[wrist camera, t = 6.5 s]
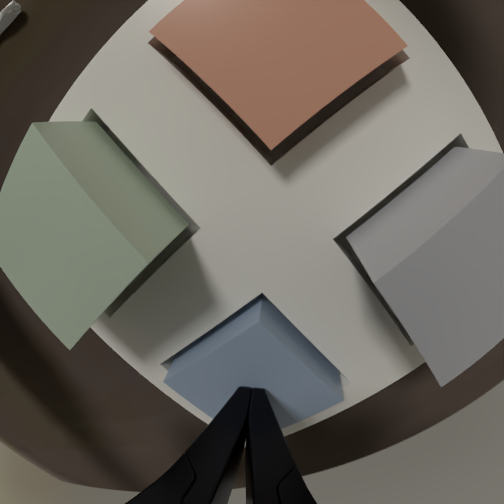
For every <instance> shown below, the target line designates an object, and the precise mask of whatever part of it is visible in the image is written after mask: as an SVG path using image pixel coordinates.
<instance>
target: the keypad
mask: <svg viewBox="0 0 504 504" xmlns="http://www.w3.org/2000/svg"><path fill="white" fill-rule="evenodd" d="M183 1H184V0H148V1H147V2H146V3H145V4H144V5H143V6H142V7H141V8H140V9H139V10H138V11H136V12H135V13H134V14H133V15H132V16H131V17H130V18H129V19H128V20H127V21H126V22H125V23H124V24H123V25H122V26H121V27H120V29H119V30H118V31H117V32H116V33H115V34H114V35H113V36H112V37H111V38H110V39H109V40H108V42H107V43H106V44H105V45H104V46H103V47H102V48H101V50H100V51H99V52H98V53H97V54H96V56H95V57H94V58H93V59H92V60H91V62H90V63H89V64H88V65H87V67H86V68H85V69H84V71H83V72H82V73H81V74H80V76H79V77H78V78H77V80H76V81H75V83H74V84H73V85H72V87H71V88H70V90H69V91H68V92H67V94H66V95H65V97H64V98H63V100H62V101H61V103H60V104H59V106H58V107H57V109H56V110H55V112H54V114H53V115H52V117H51V118H50V120H49V122H63V121H89V122H97V123H98V124H99V125H100V126H101V127H102V129H103V130H104V131H105V132H106V133H107V134H108V135H109V137H110V138H111V139H112V140H113V141H114V142H115V143H116V145H117V146H118V147H119V148H120V149H121V150H122V151H123V152H124V154H125V155H126V156H127V157H128V158H129V159H130V160H131V161H132V162H133V164H134V165H135V166H136V167H137V168H138V169H139V170H140V171H141V172H142V174H143V175H144V176H145V177H146V178H147V179H148V180H149V181H150V182H151V183H152V185H153V186H154V187H155V188H156V189H157V190H158V191H159V192H160V193H161V194H162V195H163V197H164V198H165V199H166V200H167V201H168V202H169V203H170V204H171V205H172V206H173V207H174V208H175V210H176V211H177V212H178V213H179V214H180V215H181V216H182V217H183V218H184V219H185V220H186V221H187V222H188V223H189V225H188V226H187V227H186V228H185V229H184V230H183V231H182V232H181V233H180V234H179V235H178V236H177V237H176V238H175V239H174V240H173V241H172V242H171V243H170V244H169V245H168V246H167V247H166V248H165V249H164V250H163V251H162V252H161V253H160V254H159V255H158V256H157V257H156V258H155V259H154V260H153V261H152V262H151V263H150V264H149V265H148V266H147V267H146V268H145V269H144V270H143V271H142V272H141V273H140V274H139V275H138V276H137V277H136V278H135V279H134V280H133V281H132V282H131V284H130V285H129V286H128V287H127V288H126V289H125V290H124V291H123V292H122V293H121V294H120V295H119V296H118V297H117V298H116V300H115V301H114V302H113V303H112V304H111V305H110V306H109V307H108V308H107V309H106V310H105V311H104V313H103V314H102V315H101V316H100V317H99V318H98V319H97V320H96V321H95V322H94V323H93V325H92V326H91V328H92V329H93V330H94V331H95V332H96V333H97V334H98V335H99V336H100V337H101V338H102V339H103V340H104V341H105V342H106V343H107V344H108V345H109V346H110V347H111V348H112V349H113V350H114V351H115V352H116V353H118V354H119V355H120V356H121V357H122V358H123V359H124V360H125V361H126V362H128V363H129V364H130V365H131V366H132V367H133V368H134V369H136V370H137V371H138V372H139V373H140V374H142V375H143V376H144V377H145V378H146V379H148V380H149V381H150V382H151V383H152V384H154V385H155V386H156V387H157V388H159V389H160V390H161V391H163V392H164V393H165V394H166V395H168V396H169V397H170V398H172V399H173V400H174V401H176V402H177V403H178V404H180V405H181V406H182V407H184V408H185V409H187V410H188V411H189V412H191V413H192V414H194V415H195V416H197V417H198V418H199V419H201V420H202V421H204V422H205V423H207V424H209V423H210V422H211V421H212V420H213V418H211V417H210V416H208V415H207V414H205V413H204V412H202V411H201V410H200V409H198V408H197V407H195V406H194V405H193V404H191V403H190V402H189V401H187V400H186V399H185V398H183V397H182V396H181V395H179V394H178V393H177V392H175V391H174V390H173V389H171V388H170V387H169V386H168V385H166V384H165V383H164V382H163V381H164V379H165V377H166V375H167V373H168V370H169V368H170V366H171V364H172V362H173V360H174V358H175V355H176V353H177V352H179V351H180V350H182V349H183V348H184V347H186V346H187V345H189V344H190V343H192V342H193V341H195V340H196V339H198V338H199V337H200V336H202V335H203V334H205V333H206V332H208V331H209V330H211V329H212V328H213V327H215V326H216V325H218V324H219V323H221V322H222V321H223V320H225V319H226V318H228V317H229V316H230V315H232V314H233V313H235V312H236V311H237V310H239V309H240V308H242V307H243V306H244V305H246V304H247V303H249V302H250V301H251V300H253V299H254V298H255V297H257V296H258V295H260V294H261V293H263V294H264V295H265V296H266V297H267V298H268V299H269V300H270V301H271V302H272V303H273V304H274V305H275V306H276V307H277V308H278V309H279V310H280V311H281V312H282V313H283V314H284V315H285V316H286V318H287V319H288V320H289V321H290V322H291V323H292V324H293V325H294V326H295V327H296V328H297V329H298V330H299V331H300V332H301V333H302V334H303V335H304V336H305V337H306V338H307V339H308V340H309V341H310V342H311V343H312V344H313V345H314V346H315V347H316V348H317V349H318V350H319V351H320V352H321V353H322V354H323V355H324V356H325V357H326V358H327V359H328V360H329V361H330V362H331V363H332V364H333V365H334V366H335V367H336V368H337V369H338V370H339V375H340V380H341V386H342V391H343V397H344V400H343V401H342V402H340V403H338V404H336V405H334V406H332V407H330V408H328V409H326V410H324V411H321V412H319V413H317V414H315V415H313V416H311V417H309V418H306V419H304V420H302V421H300V422H297V423H295V424H293V425H290V426H288V427H285V428H283V429H281V430H282V432H283V435H284V436H287V435H289V434H292V433H294V432H297V431H299V430H302V429H304V428H306V427H309V426H311V425H313V424H316V423H318V422H320V421H322V420H324V419H327V418H329V417H331V416H333V415H335V414H337V413H339V412H341V411H343V410H345V409H347V408H349V407H351V406H353V405H355V404H357V403H359V402H360V401H362V400H364V399H366V398H368V397H370V396H371V395H373V394H375V393H377V392H378V391H380V390H382V389H384V388H385V387H387V386H389V385H390V384H392V383H394V382H395V381H397V380H398V379H400V378H402V377H403V376H405V375H406V374H408V373H409V372H411V371H413V370H414V369H416V368H417V367H419V366H420V365H421V364H423V363H424V362H426V361H425V359H424V358H423V356H422V355H421V353H420V351H419V350H418V348H417V347H416V345H415V344H414V342H413V340H412V339H411V337H410V336H409V334H408V333H407V331H406V330H405V328H404V327H403V325H402V324H401V322H400V321H399V319H398V318H397V316H396V315H395V313H394V312H393V310H392V309H391V307H390V306H389V305H388V303H387V302H386V300H385V299H384V297H383V296H382V295H381V293H380V292H379V290H378V289H377V288H376V286H375V285H374V283H373V282H372V280H371V278H370V276H369V275H368V273H367V271H366V270H365V268H364V266H363V265H362V263H361V261H360V260H359V258H358V256H357V255H356V253H355V251H354V250H353V248H352V246H351V245H350V243H349V242H348V240H347V238H346V237H347V236H348V235H349V234H351V233H352V232H353V231H354V230H356V229H357V228H358V227H359V226H361V225H362V224H363V223H364V222H366V221H367V220H368V219H369V218H371V217H372V216H373V215H374V214H376V213H377V212H378V211H379V210H381V209H382V208H383V207H384V206H386V205H387V204H388V203H389V202H390V201H392V200H393V199H394V198H395V197H396V196H398V195H399V194H400V193H401V192H403V191H404V190H405V189H406V188H407V187H409V186H410V185H411V184H412V183H413V182H414V181H416V180H417V179H418V178H419V177H420V176H422V175H423V174H424V173H425V172H426V171H427V170H429V169H430V168H431V167H432V166H433V165H434V164H435V163H437V162H438V161H439V160H440V159H441V158H442V157H444V156H445V155H446V154H447V153H448V152H449V151H450V150H451V149H453V148H454V147H462V148H470V149H478V150H485V151H492V152H498V153H503V152H502V150H501V147H500V145H499V143H498V141H497V139H496V137H495V135H494V133H493V131H492V129H491V127H490V125H489V123H488V121H487V119H486V117H485V115H484V113H483V111H482V110H481V108H480V106H479V104H478V103H477V101H476V99H475V97H474V96H473V94H472V92H471V91H470V89H469V88H468V86H467V84H466V83H465V81H464V80H463V78H462V77H461V75H460V74H459V72H458V71H457V69H456V68H455V66H454V65H453V64H452V62H451V61H450V59H449V58H448V57H447V55H446V54H445V53H444V51H443V50H442V49H441V47H440V46H439V45H438V43H437V42H436V41H435V40H434V38H433V37H432V36H431V35H430V34H429V32H428V31H427V30H426V29H425V28H424V27H423V25H422V24H421V23H420V22H419V21H418V20H417V19H416V17H415V16H414V15H413V14H412V13H411V12H410V11H409V10H408V9H407V8H406V7H405V6H404V5H403V4H402V3H401V2H400V1H399V0H365V1H366V2H367V3H368V4H369V5H370V6H371V7H372V8H373V9H374V10H375V11H376V12H377V13H378V14H379V15H380V16H381V17H382V18H383V19H384V20H385V21H386V22H387V23H388V24H389V25H390V26H391V27H392V28H393V29H394V31H395V32H396V33H397V34H398V35H399V36H400V37H401V38H402V39H403V41H404V42H405V43H406V44H407V45H408V46H407V47H406V48H404V49H403V50H401V51H400V52H398V53H397V54H396V55H394V56H393V57H391V58H390V59H389V60H387V61H386V62H384V63H383V64H382V65H380V66H379V67H378V68H376V69H375V70H374V71H372V72H371V73H369V74H368V75H367V76H365V77H364V78H362V79H361V80H360V81H358V82H357V83H356V84H354V85H353V86H352V87H350V88H349V89H348V90H346V91H345V92H344V93H342V94H341V95H340V96H338V97H337V98H336V99H335V100H333V101H332V102H331V103H329V104H328V105H327V106H326V107H324V108H323V109H322V110H320V111H319V112H318V113H317V114H315V115H314V116H313V117H312V118H310V119H309V120H308V121H307V122H305V123H304V124H303V125H302V126H300V127H299V128H298V129H297V130H296V131H294V132H293V133H292V134H291V135H289V136H288V137H287V138H286V139H285V140H283V141H282V142H281V143H280V144H279V145H278V146H276V147H275V148H274V149H272V150H270V149H269V147H268V146H267V145H266V144H265V143H264V142H263V141H262V140H261V139H260V138H259V137H258V136H257V134H256V133H255V132H254V131H253V130H252V129H251V128H250V127H249V126H248V125H247V124H246V123H245V122H244V121H243V120H242V119H241V118H240V117H239V115H238V114H237V113H236V112H235V111H234V110H233V109H232V108H231V107H230V106H229V105H228V104H227V103H226V102H225V101H224V100H223V99H222V98H221V97H220V96H219V95H218V94H217V93H216V92H215V91H214V90H213V89H212V88H211V87H210V86H209V85H207V84H206V83H205V82H204V81H203V80H202V79H201V78H200V77H199V76H198V75H197V74H196V73H195V72H194V71H193V70H192V69H191V68H189V67H188V66H187V65H186V64H185V63H184V62H183V61H182V60H181V59H180V58H179V57H177V56H176V55H175V54H174V53H173V52H172V51H171V50H170V49H168V48H167V47H166V46H165V45H164V44H163V43H162V42H160V41H159V40H158V39H157V38H156V37H155V36H153V35H152V34H151V33H150V32H149V31H150V30H151V29H152V28H153V27H154V26H155V25H156V24H157V23H158V22H159V21H161V20H162V19H163V18H164V17H165V16H166V15H167V14H168V13H169V12H171V11H172V10H173V9H174V8H175V7H176V6H178V5H179V4H180V3H181V2H183ZM245 445H246V442H245Z"/></svg>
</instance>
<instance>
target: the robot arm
mask: <svg viewBox="0 0 504 504" xmlns="http://www.w3.org/2000/svg"><path fill="white" fill-rule="evenodd" d="M245 442H246V445H245ZM244 447H245V463H246V504H317V503H316V501H315V500H314V498H313V497H312V495H311V493H310V492H309V490H308V488H307V487H306V484H305V482H304V480H303V478H302V476H301V474H300V472H299V469H298V467H296V463H295V461H294V458H293V456H292V454H291V451H290V449H289V447H288V444H287V442H286V440H285V437H284V435H283V432H282V430H281V428H280V425H279V423H278V420H277V418H276V416H275V413H274V411H273V408H272V406H271V403H270V401H269V398H268V396H267V393H266V391H265V389H263V388H252V389H251V387H245V386H240V387H238V388H237V390H236V391H235V392H234V393H233V395H232V396H231V397H230V399H229V400H228V401H227V402H226V404H225V405H224V406H223V407H222V409H221V410H220V411H219V412H218V413H217V415H216V416H215V417H214V418H213V420H212V421H211V422H210V423H209V424H208V426H207V427H206V428H205V429H204V430H203V432H202V433H201V434H200V435H199V436H198V438H197V439H196V440H195V441H194V442H193V443H192V445H191V446H190V447H189V448H188V449H187V450H186V451H185V454H183V455H182V456H181V457H180V458H179V459H178V460H177V461H176V462H175V463H174V464H173V466H172V467H171V468H170V469H169V470H168V471H166V472H165V473H164V474H163V475H162V476H161V477H160V478H158V479H157V480H156V481H155V482H154V483H152V484H151V485H150V486H148V487H147V488H146V489H145V490H143V491H142V492H141V493H139V494H138V495H137V496H135V497H134V498H133V499H131V500H130V501H128V502H127V503H125V504H227V503H228V500H229V497H230V493H231V491H232V487H233V484H234V481H235V478H236V474H237V471H238V468H239V464H240V461H241V458H242V454H243V451H244Z"/></svg>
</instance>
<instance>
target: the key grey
mask: <svg viewBox="0 0 504 504" xmlns="http://www.w3.org/2000/svg"><path fill="white" fill-rule="evenodd" d="M346 238H347V240H348V242H349V243H350V245H351V246H352V248H353V250H354V251H355V253H356V255H357V256H358V258H359V260H360V261H361V263H362V265H363V266H364V268H365V270H366V271H367V273H368V275H369V276H370V278H371V280H372V282H373V283H374V285H375V286H376V288H377V289H378V290H379V292H380V293H381V295H382V296H383V297H384V299H385V300H386V302H387V303H388V305H389V306H390V307H391V309H392V310H393V312H394V313H395V315H396V316H397V318H398V319H399V321H400V322H401V324H402V325H403V327H404V328H405V330H406V331H407V333H408V334H409V336H410V337H411V339H412V340H413V342H414V344H415V345H416V347H417V348H418V350H419V351H420V353H421V355H422V356H423V358H424V359H425V361H426V363H427V364H428V366H429V368H430V369H431V371H432V373H433V374H434V376H435V378H436V379H437V381H438V383H439V384H440V386H441V387H442V386H444V385H445V384H447V383H448V382H449V381H451V380H452V379H454V378H455V377H456V376H458V375H459V374H461V373H462V372H463V371H465V370H466V369H467V368H468V367H470V366H471V365H472V364H474V363H475V362H476V361H477V360H479V359H480V358H481V357H482V356H483V355H485V354H486V353H487V352H488V351H489V350H491V349H492V348H493V347H494V346H495V345H496V344H497V343H499V342H500V341H501V340H502V339H503V338H504V153H498V152H492V151H485V150H478V149H470V148H462V147H454V148H453V149H451V150H450V151H449V152H448V153H447V154H446V155H445V156H444V157H442V158H441V159H440V160H439V161H438V162H437V163H435V164H434V165H433V166H432V167H431V168H430V169H429V170H427V171H426V172H425V173H424V174H423V175H422V176H420V177H419V178H418V179H417V180H416V181H414V182H413V183H412V184H411V185H410V186H409V187H407V188H406V189H405V190H404V191H403V192H401V193H400V194H399V195H398V196H396V197H395V198H394V199H393V200H392V201H390V202H389V203H388V204H387V205H386V206H384V207H383V208H382V209H381V210H379V211H378V212H377V213H376V214H374V215H373V216H372V217H371V218H369V219H368V220H367V221H366V222H364V223H363V224H362V225H361V226H359V227H358V228H357V229H356V230H354V231H353V232H352V233H351V234H349V235H348V236H347V237H346Z"/></svg>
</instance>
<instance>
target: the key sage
mask: <svg viewBox="0 0 504 504" xmlns="http://www.w3.org/2000/svg"><path fill="white" fill-rule="evenodd" d="M188 225H189V223H188V222H187V221H186V220H185V219H184V218H183V217H182V216H181V215H180V214H179V213H178V212H177V211H176V210H175V208H174V207H173V206H172V205H171V204H170V203H169V202H168V201H167V200H166V199H165V198H164V197H163V195H162V194H161V193H160V192H159V191H158V190H157V189H156V188H155V187H154V186H153V185H152V183H151V182H150V181H149V180H148V179H147V178H146V177H145V176H144V175H143V174H142V172H141V171H140V170H139V169H138V168H137V167H136V166H135V165H134V164H133V162H132V161H131V160H130V159H129V158H128V157H127V156H126V155H125V154H124V152H123V151H122V150H121V149H120V148H119V147H118V146H117V145H116V143H115V142H114V141H113V140H112V139H111V138H110V137H109V135H108V134H107V133H106V132H105V131H104V130H103V129H102V127H101V126H100V125H99V124H98V123H97V122H89V121H63V122H34V123H32V124H31V126H30V128H29V130H28V132H27V134H26V136H25V137H24V139H23V141H22V143H21V145H20V148H19V150H18V152H17V154H16V156H15V158H14V160H13V163H12V165H11V167H10V169H9V172H8V174H7V177H6V179H5V182H4V184H3V187H2V189H1V192H0V267H1V268H2V270H3V271H4V273H5V274H6V275H7V277H8V278H9V280H10V281H11V282H12V284H13V285H14V286H15V288H16V289H17V290H18V292H19V293H20V294H21V296H22V297H23V298H24V299H25V301H26V302H27V303H28V304H29V306H30V307H31V308H32V309H33V310H34V312H35V313H36V314H37V315H38V316H39V317H40V319H41V320H42V321H43V322H44V323H45V324H46V325H47V327H48V328H49V329H50V330H51V331H52V332H53V333H54V334H55V335H56V336H57V337H58V339H59V340H60V341H61V342H62V343H63V344H64V345H65V346H66V347H67V348H68V349H69V350H70V349H71V348H72V347H73V346H74V345H75V344H76V343H77V341H78V340H79V339H80V338H81V337H82V336H83V335H84V333H85V332H86V331H87V330H88V329H89V328H90V327H91V326H92V325H93V323H94V322H95V321H96V320H97V319H98V318H99V317H100V316H101V315H102V314H103V313H104V311H105V310H106V309H107V308H108V307H109V306H110V305H111V304H112V303H113V302H114V301H115V300H116V298H117V297H118V296H119V295H120V294H121V293H122V292H123V291H124V290H125V289H126V288H127V287H128V286H129V285H130V284H131V282H132V281H133V280H134V279H135V278H136V277H137V276H138V275H139V274H140V273H141V272H142V271H143V270H144V269H145V268H146V267H147V266H148V265H149V264H150V263H151V262H152V261H153V260H154V259H155V258H156V257H157V256H158V255H159V254H160V253H161V252H162V251H163V250H164V249H165V248H166V247H167V246H168V245H169V244H170V243H171V242H172V241H173V240H174V239H175V238H176V237H177V236H178V235H179V234H180V233H181V232H182V231H183V230H184V229H185V228H186V227H187V226H188Z"/></svg>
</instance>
